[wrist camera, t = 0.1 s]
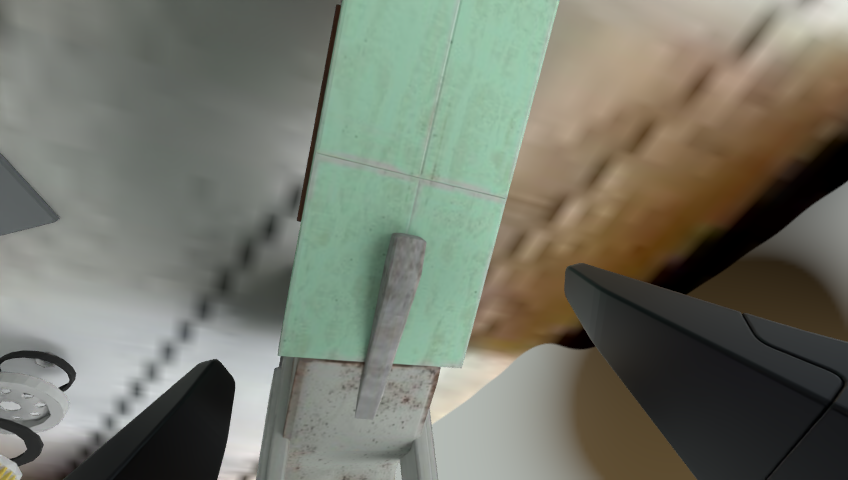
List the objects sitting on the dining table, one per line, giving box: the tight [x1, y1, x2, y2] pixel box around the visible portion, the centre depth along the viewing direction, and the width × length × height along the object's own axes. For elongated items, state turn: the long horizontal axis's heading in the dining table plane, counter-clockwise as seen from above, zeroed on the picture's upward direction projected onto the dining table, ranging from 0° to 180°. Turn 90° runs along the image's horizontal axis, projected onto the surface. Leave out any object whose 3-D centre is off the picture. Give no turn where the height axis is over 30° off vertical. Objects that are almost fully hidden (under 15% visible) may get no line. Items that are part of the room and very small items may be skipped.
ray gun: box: [256, 0, 559, 480], centre depth 16 cm, size 7×32×20 cm, turn 161°
